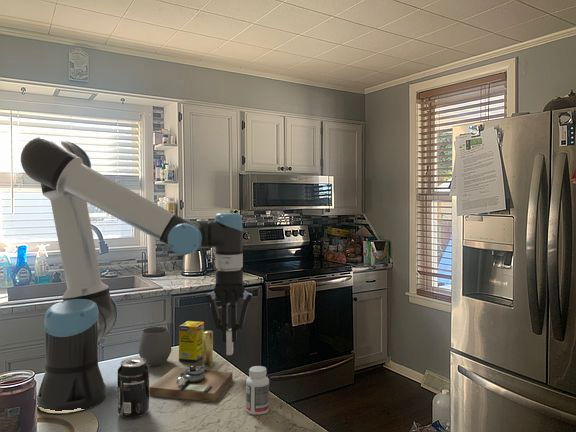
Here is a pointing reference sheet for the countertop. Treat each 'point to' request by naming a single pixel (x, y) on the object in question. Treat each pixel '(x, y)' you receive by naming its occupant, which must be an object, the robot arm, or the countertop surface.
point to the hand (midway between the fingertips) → (229, 353)
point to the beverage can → (133, 388)
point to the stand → (192, 385)
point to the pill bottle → (257, 391)
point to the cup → (155, 345)
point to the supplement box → (191, 341)
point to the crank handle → (197, 372)
